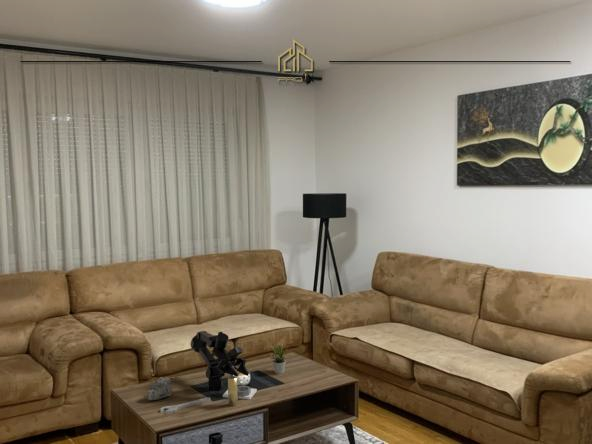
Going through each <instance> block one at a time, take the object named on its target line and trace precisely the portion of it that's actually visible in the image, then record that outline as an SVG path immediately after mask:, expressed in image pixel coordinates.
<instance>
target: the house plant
mask: <svg viewBox="0 0 592 444" xmlns="http://www.w3.org/2000/svg"><path fill="white" fill-rule="evenodd" d="M268 346H269V347H271V349H269V351H271V352H269V355H268V357H269V356H270V357H271V358H270V360H272V365H273V371H274V373H275V374H276V375H278V374H279V375H282V374H284V373H285V368H286V361H287V360H285V359H286V358H285V356H286V355H288V354H289V352H286V351H287V350H289V349H288V348H289V347H288V348H286V349H285V350H284V348H285V346H284V344H282V343H280V342H277V345H276V346H275V348H274V347H273V346H272V345H269V344H268ZM272 353H273V354H272Z"/></svg>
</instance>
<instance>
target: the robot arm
mask: <svg viewBox="0 0 592 444" xmlns="http://www.w3.org/2000/svg"><path fill="white" fill-rule="evenodd" d="M228 341H229V335H228V334H227V333H224V332H223V331H219V332H217V334H212V333H209V332H207V331H205V330H202V331H198V332H196V334H195V335H194V336H193V337H192V338H191V340H190V348H191V349H192V350H193V351H194V352H195V353H198V354H199V355H200V357H201V358H202V360H204V363H205V364H206V365H207V368H206V370H205V377H206V378H207V379H208V387H207V391H217V392H219V391H221V390H222V389H223V387H224V379H223V378H224V377H225V375H226V374H228V375H230V376H231V375H234V376H235V377H237V378H238V377H239V374H238V373H240V374H243V375H245V376H249V375H250V374H249V371H248V369H247V367H246V363H247V359H246V358H245V357H239V358H238V356H240V355H242V354H243V348H241V346H235V347H233V348H232V349H230V350H229V351H228V350H227V349H226V348H227V346H228ZM211 348H212V350H211V351H210V350H209V349H211ZM214 356H215V357H216V358H215V357H214Z"/></svg>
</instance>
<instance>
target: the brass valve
mask: <svg viewBox="0 0 592 444" xmlns="http://www.w3.org/2000/svg"><path fill="white" fill-rule="evenodd" d="M237 387H238V377H236V376H234V375H230V376H228V377H227V390H228V398H227V399H228V406H229V407H236V406H238V404H239V402H238V401H239V400H238V391H237Z"/></svg>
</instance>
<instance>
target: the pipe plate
mask: <svg viewBox="0 0 592 444" xmlns="http://www.w3.org/2000/svg"><path fill="white" fill-rule="evenodd" d="M257 390H258V389H257V388H252V387H250V386H248V385H240V386H237V391H238V399H239V400H241V399H242V400H251V399H252V398H253V397H254V395H255V394H256V392H257ZM222 398H227V399H228V389H227V390H226V391H225V392H224V393H223V394H222Z"/></svg>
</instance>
